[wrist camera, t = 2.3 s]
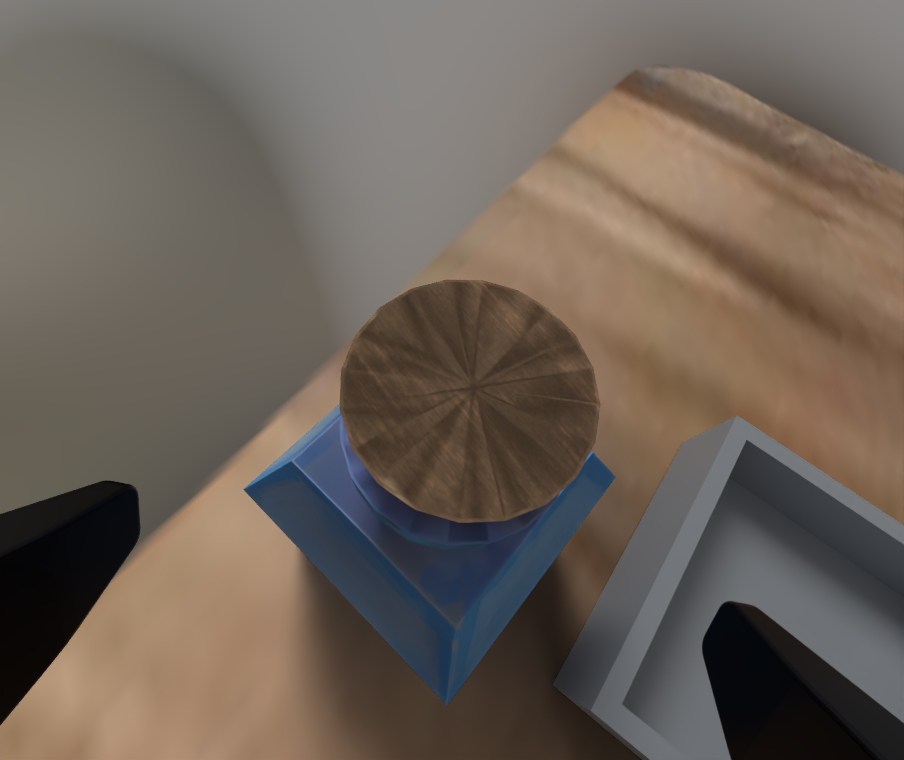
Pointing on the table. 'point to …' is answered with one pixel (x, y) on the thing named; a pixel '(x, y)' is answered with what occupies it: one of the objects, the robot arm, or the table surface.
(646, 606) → the tray
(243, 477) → the table surface
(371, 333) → the perfume bottle
